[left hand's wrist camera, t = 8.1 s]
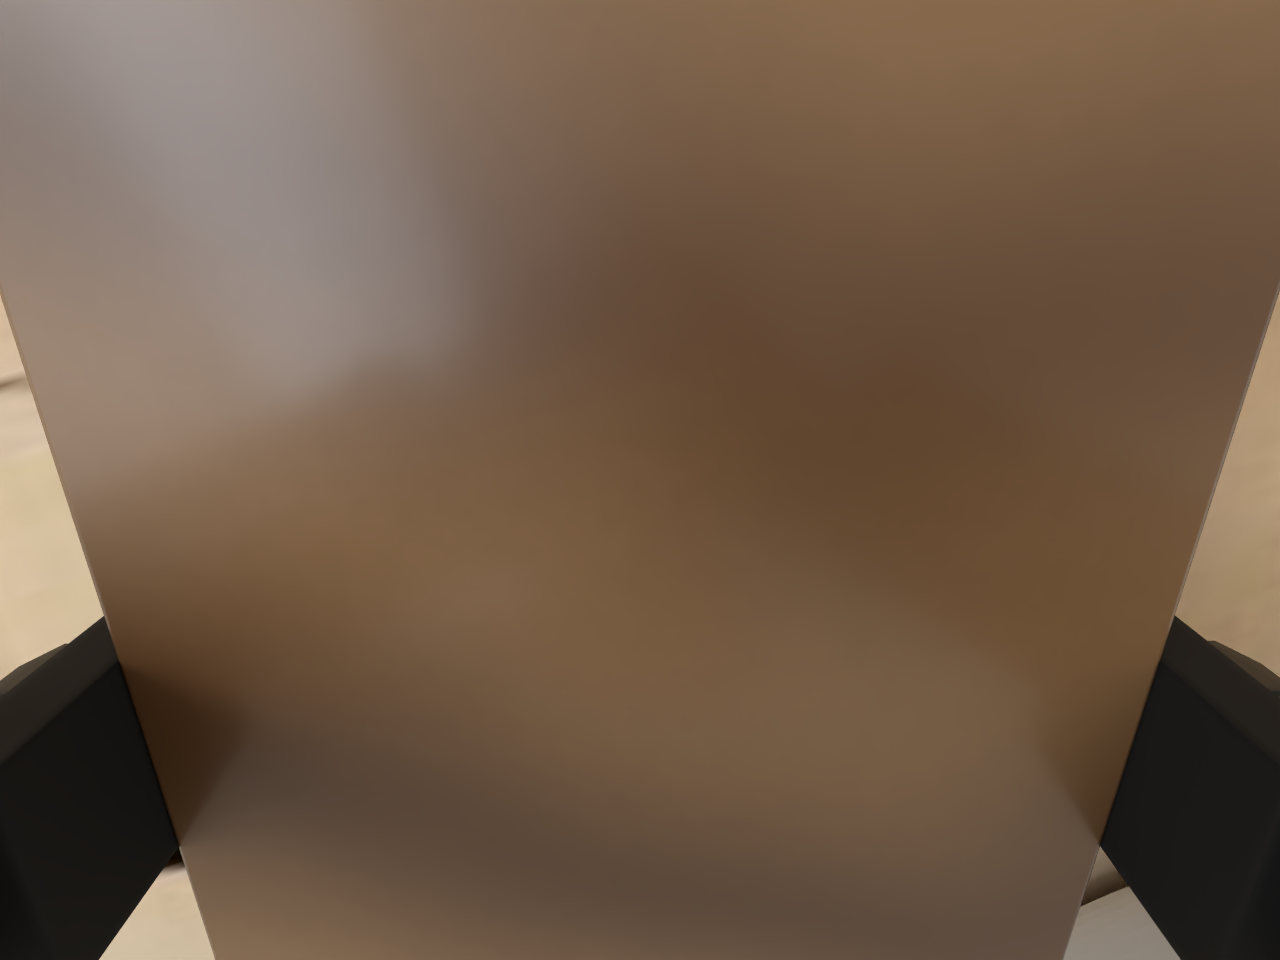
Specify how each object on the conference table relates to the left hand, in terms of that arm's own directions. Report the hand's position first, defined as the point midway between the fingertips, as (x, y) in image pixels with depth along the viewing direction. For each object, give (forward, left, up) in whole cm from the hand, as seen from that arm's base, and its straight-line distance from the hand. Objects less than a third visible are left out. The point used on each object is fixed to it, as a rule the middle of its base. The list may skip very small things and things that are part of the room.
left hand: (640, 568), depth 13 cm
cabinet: (+6, +3, -7) cm, 9 cm away
